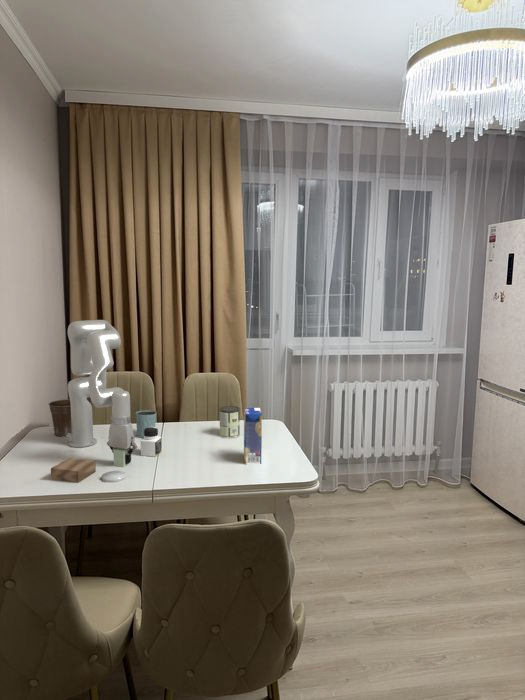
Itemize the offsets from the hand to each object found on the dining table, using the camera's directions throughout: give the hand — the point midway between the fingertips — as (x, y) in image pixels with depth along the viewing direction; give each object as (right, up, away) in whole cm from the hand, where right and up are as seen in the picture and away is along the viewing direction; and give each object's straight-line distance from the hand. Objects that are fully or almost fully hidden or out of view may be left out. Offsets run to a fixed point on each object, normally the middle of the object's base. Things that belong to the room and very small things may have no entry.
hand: (122, 461), depth 217 cm
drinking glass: (+1, +4, +40) cm, 40 cm away
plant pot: (-40, +5, +42) cm, 58 cm away
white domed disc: (+1, -3, -15) cm, 15 cm away
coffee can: (+43, +4, +43) cm, 60 cm away
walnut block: (-16, -3, -13) cm, 21 cm away
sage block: (0, -1, 0) cm, 1 cm away
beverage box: (+55, -1, +7) cm, 55 cm away
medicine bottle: (+9, 0, +14) cm, 17 cm away
